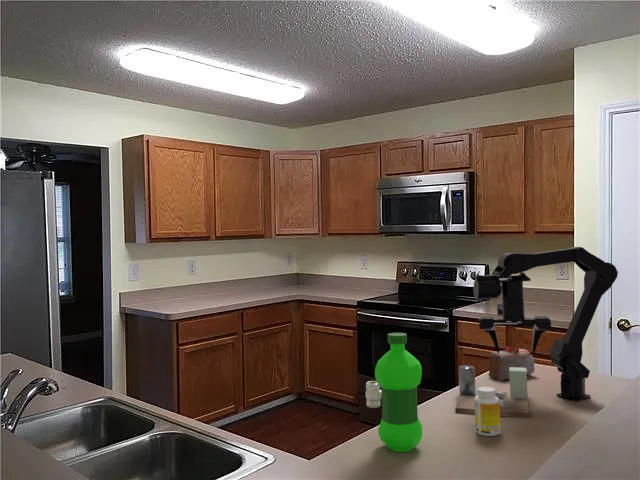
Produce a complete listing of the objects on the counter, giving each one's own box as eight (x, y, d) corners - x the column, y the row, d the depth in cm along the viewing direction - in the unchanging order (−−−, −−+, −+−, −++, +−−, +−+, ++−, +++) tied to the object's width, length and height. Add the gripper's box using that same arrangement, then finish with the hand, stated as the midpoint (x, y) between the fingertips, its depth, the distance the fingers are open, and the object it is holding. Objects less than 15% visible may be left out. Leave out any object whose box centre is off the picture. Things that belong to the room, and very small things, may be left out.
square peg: (527, 395, 155) (526, 367, 155) (527, 400, 151) (526, 371, 151) (510, 395, 157) (509, 367, 157) (510, 399, 152) (509, 370, 152)
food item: (519, 371, 183) (518, 342, 183) (537, 376, 176) (536, 346, 176) (486, 376, 178) (485, 346, 178) (503, 382, 170) (502, 350, 170)
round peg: (467, 391, 161) (466, 364, 161) (479, 395, 158) (478, 367, 157) (456, 394, 159) (455, 367, 159) (467, 398, 155) (466, 369, 155)
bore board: (527, 403, 148) (526, 391, 148) (528, 417, 137) (528, 404, 137) (459, 399, 154) (458, 387, 154) (455, 412, 143) (454, 400, 143)
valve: (366, 410, 148) (411, 409, 147) (365, 385, 148) (410, 384, 147) (365, 403, 154) (407, 401, 154) (364, 379, 154) (407, 378, 154)
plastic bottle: (434, 446, 120) (430, 333, 120) (403, 460, 113) (399, 340, 113) (399, 435, 128) (395, 328, 128) (368, 448, 121) (364, 335, 121)
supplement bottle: (505, 434, 126) (504, 389, 126) (487, 438, 124) (485, 393, 124) (488, 427, 131) (487, 384, 131) (470, 431, 129) (469, 388, 129)
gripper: (545, 293, 158) (548, 347, 158) (478, 295, 163) (481, 347, 163) (549, 298, 147) (552, 356, 147) (477, 299, 153) (480, 355, 153)
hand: (515, 353), depth 153 cm, fingers open, 9 cm apart
